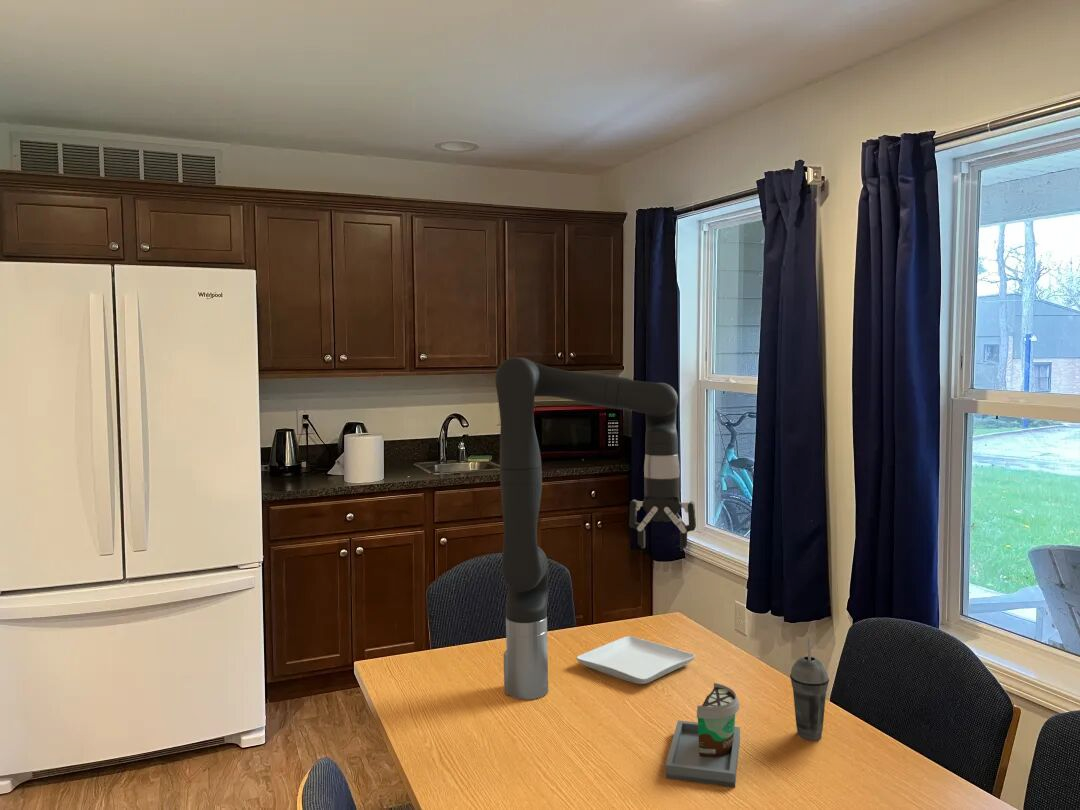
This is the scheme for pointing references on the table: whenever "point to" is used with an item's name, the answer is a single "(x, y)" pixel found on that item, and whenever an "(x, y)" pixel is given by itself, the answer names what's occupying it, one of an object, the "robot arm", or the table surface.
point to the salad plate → (635, 659)
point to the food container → (717, 722)
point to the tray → (700, 758)
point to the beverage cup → (809, 695)
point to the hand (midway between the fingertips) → (662, 548)
